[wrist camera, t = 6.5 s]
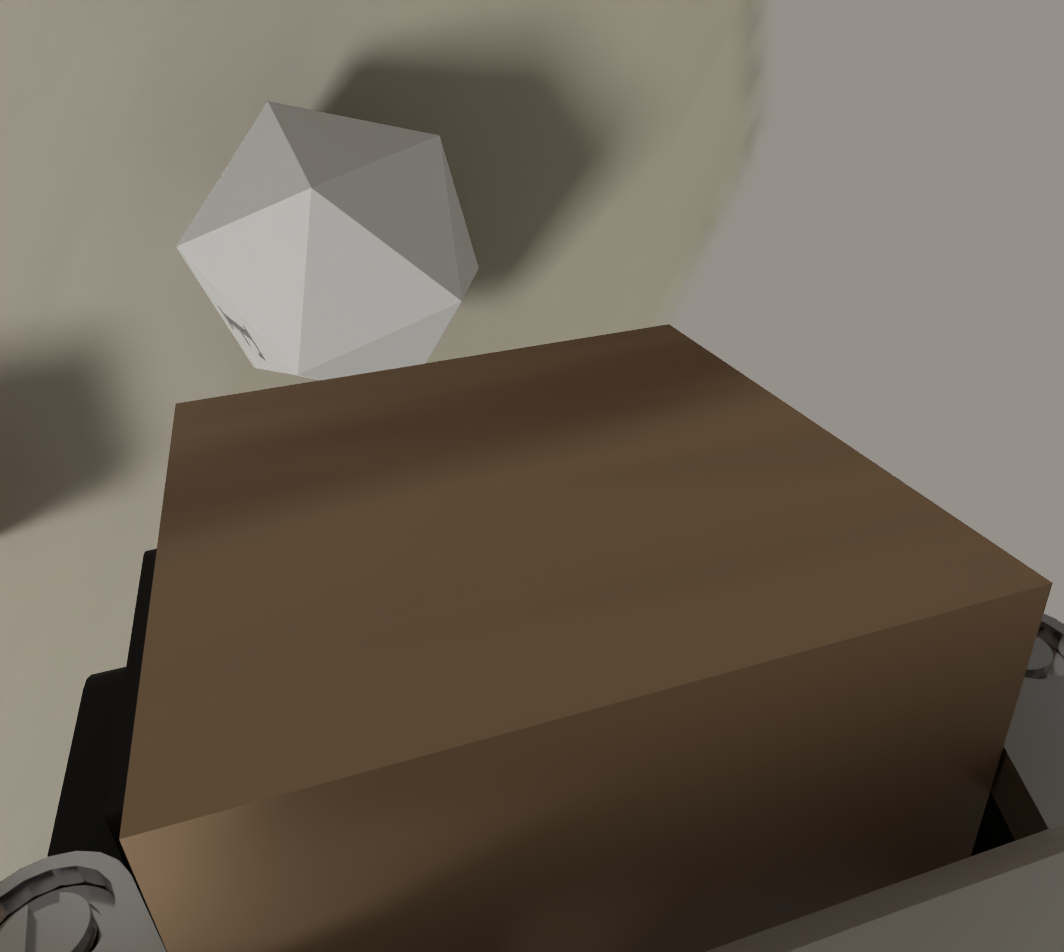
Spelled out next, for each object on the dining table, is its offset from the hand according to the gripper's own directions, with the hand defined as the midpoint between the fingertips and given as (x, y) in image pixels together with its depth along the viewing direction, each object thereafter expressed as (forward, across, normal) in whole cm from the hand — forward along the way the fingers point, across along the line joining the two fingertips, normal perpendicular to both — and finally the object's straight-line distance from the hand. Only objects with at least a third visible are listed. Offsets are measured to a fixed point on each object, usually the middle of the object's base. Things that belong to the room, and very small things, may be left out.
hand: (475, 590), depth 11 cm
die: (+22, 0, 0) cm, 22 cm away
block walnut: (+1, 0, 0) cm, 1 cm away
